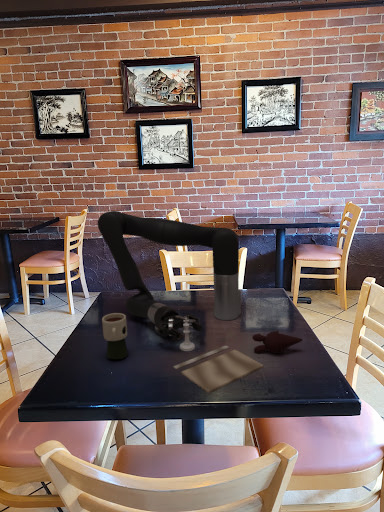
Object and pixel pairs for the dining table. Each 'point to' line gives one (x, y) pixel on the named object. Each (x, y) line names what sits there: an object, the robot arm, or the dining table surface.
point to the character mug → (115, 335)
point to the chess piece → (186, 338)
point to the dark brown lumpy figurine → (274, 342)
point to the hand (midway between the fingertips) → (190, 332)
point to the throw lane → (219, 369)
